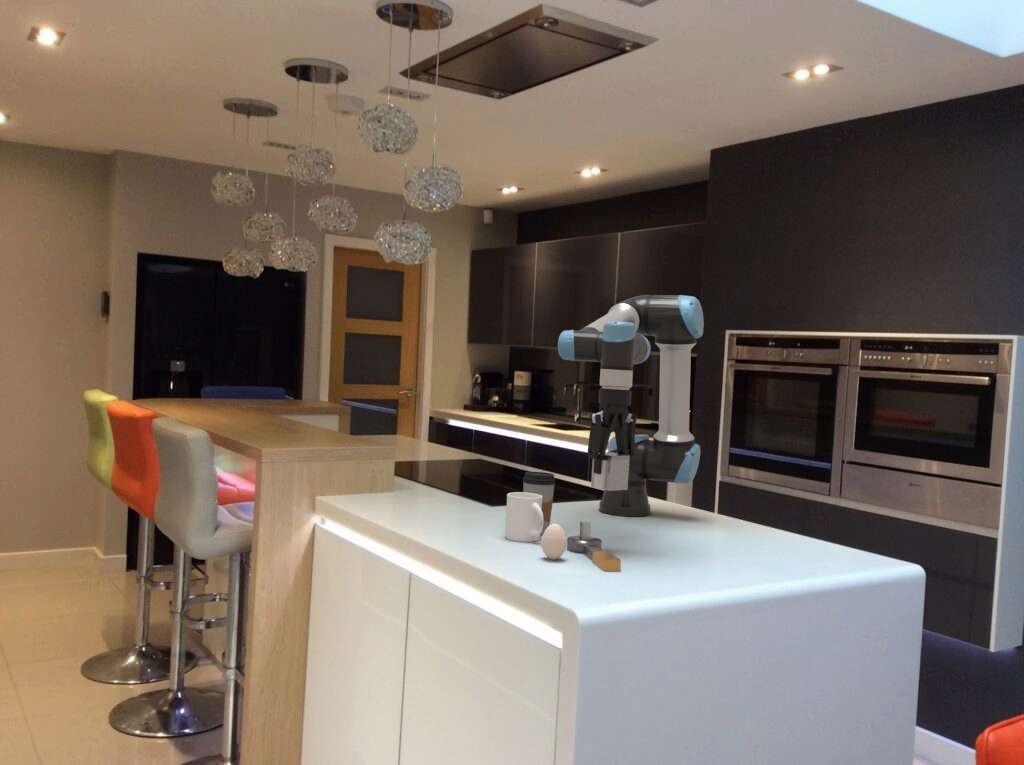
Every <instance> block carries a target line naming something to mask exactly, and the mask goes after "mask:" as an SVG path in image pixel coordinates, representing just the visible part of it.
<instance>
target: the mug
mask: <svg viewBox="0 0 1024 765" xmlns="http://www.w3.org/2000/svg"><path fill="white" fill-rule="evenodd" d="M543 521H544V519H543V512H542V495H539V494H534V493H525V492H523V491H522V492H521V491H520V492H519V491H518V492H517V491H516V492H514V491H513V492H509V493H507V494H506V508H505V528H504V536H505V539H507V540H509V541H513V542H517V543H533V542H538V541H539V540H540V538H541V535H540V534H541V532H542V529H543ZM541 522H542V525H541Z"/></svg>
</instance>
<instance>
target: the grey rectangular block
mask: <svg viewBox="0 0 1024 765" xmlns="http://www.w3.org/2000/svg"><path fill="white" fill-rule="evenodd" d="M599 454H600V453H599ZM629 459H630V455H624V454H618V453H612V452H608V451H606V452H605V456H604V459H603V460H606V473H605V489H602V490H608V491H615V490H627V489H628V474H629ZM591 465H592V466H591V480H590V488H594V489H600V488H596V487H594V477H595V473H594V471H593V469H594V459H592V464H591ZM600 490H601V489H600Z"/></svg>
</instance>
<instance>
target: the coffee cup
mask: <svg viewBox="0 0 1024 765" xmlns="http://www.w3.org/2000/svg"><path fill="white" fill-rule="evenodd" d="M522 479H523V480H522V484H523V489H522V490H523V491H522V492H525V493H534V494H539V495H542V512H543V519H544V521H543V529H542V532H541V534H540V536H543V534H544V532H545V530H546V529H547V527H548V526H549V525H551V524H550V523H551V517H552V509H553V501H554V493H555V485H556V478H555V475H554V474H553V473H550V472H543V471H526V472H524V476H523V477H522ZM541 525H542V522H541Z"/></svg>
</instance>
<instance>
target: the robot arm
mask: <svg viewBox="0 0 1024 765" xmlns="http://www.w3.org/2000/svg"><path fill="white" fill-rule="evenodd" d="M700 302H701V301H699V299H698V298H696V297H695V296H692V295H682V294H680V295H679V294H677V295H676V294H670V295H668V294H665V295H664V294H663V295H662V294H661V295H660V294H653V295H652V294H643V295H642V294H641V295H638V296H633V297H631V298H627V299H625V300H623V301H620V302H618V303H616V304H615V305H613V306H612V307H610V308H609V310H608V312H607V313H606V314H605V315H603V316H601V317H600V318H598V319H596V320H594V321H593V322H591V323H590V324H588V325H586V326H584V327H583V328H581V329H579V330H574V329H571V330H562V332H561V333H560V335H559V336H558V341H557V352H558V355H559V357H560V358H561V359H562V360H564V361H565V360H566V361H573V362H575V361H576V362H592V363H593V362H595V363H600V370H599V371H600V372H599V373H600V374H599V375H600V376H599V386H600V387H601V388H599V390H598V404H600V408H599V411H598V412H596V413H590V414H589V421H590V428H589V436H588V443H587V444H588V445H587V456H588V457H590V459H592V460H593V459H594V469H593V471H594V473H595V477H594V487H596V488H595V489H598V488H600V490H603V489H605V473H606V460H603V459H604V456H605V452H612V453H618V454H624V455H630V459H629V474H628V489H627V490H615V491H608V490H604V491H603V493H602V497H601V500H600V501H599V504H598V507H599V508H598V510H599V511H600V512H602V513H604V514H608V515H614V516H622V517H647V516H649V515H650V514H651V505H650V504H649V503H650V502H649V496H648V493H647V480H649V481H650V480H651V481H657V482H659V481H660V482H667V483H673V484H689V483H691V482H692V481H693V480H694V478H695V476H696V475H697V472H698V468H699V464H700V458H701V446H700V445H699V444H698V443H695V436H694V435H693V434H692V433H691V432H690V398H691V395H690V394H691V368H692V367H691V366H692V365H691V364H692V363H691V361H692V360H691V357H692V356H691V355H692V349H693V348H694V346H696V345H697V343H698V342H697V339H699V338H701V337H702V336H703V334H704V327H705V324H704V320H705V319H704V312H703V308H702V305H701V303H700ZM645 336H648V337H650V336H651V337H654V344H655V345H656V346H657V347H658V348H659V353H660V354H659V395H658V396H659V400H658V402H659V403H658V430H657V431H656V433H654V434H653V437H652V438H653V439H650V437H649V436H650V435H648V434H636V422H637V419H638V416H637V415H636V414H632V413H630V411H629V409H628V408H629V406H631V404H632V393H633V392H632V391H631V390H630V389H631V388H632V387H633V376H634V374H633V373H634V366H635V365H638V364H643V362H646V361H647V359H648V358H649V357H650V354H651V344H650V341H649V340H648V338H647V337H645ZM613 432H614V436H613V437H611V434H612V433H613ZM610 437H611V438H610ZM607 448H608V450H607ZM599 453H600V454H599ZM594 487H593V488H594Z"/></svg>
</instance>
